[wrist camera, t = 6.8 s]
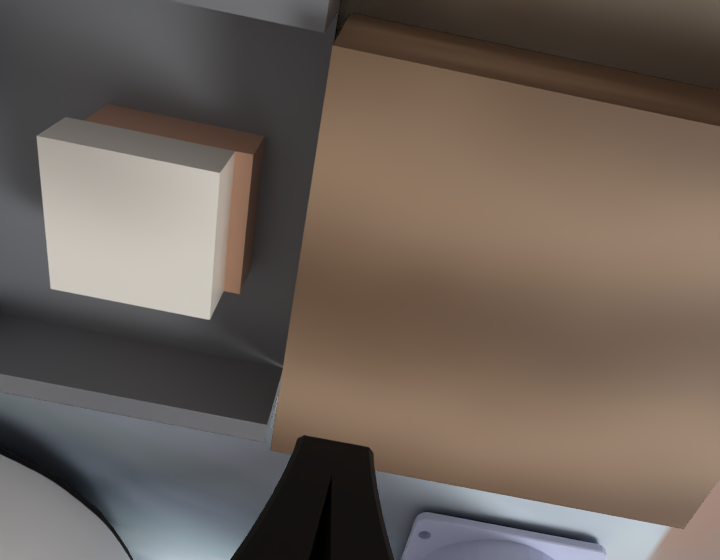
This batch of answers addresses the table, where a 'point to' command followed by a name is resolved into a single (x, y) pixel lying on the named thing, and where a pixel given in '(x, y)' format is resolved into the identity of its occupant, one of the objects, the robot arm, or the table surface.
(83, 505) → the milk container
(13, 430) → the table surface
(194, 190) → the cream tile
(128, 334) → the tray
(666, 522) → the brown block
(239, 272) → the terracotta tile
